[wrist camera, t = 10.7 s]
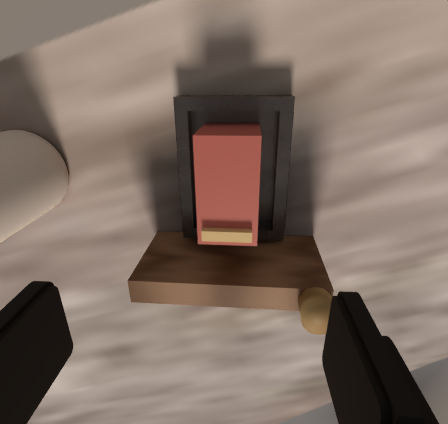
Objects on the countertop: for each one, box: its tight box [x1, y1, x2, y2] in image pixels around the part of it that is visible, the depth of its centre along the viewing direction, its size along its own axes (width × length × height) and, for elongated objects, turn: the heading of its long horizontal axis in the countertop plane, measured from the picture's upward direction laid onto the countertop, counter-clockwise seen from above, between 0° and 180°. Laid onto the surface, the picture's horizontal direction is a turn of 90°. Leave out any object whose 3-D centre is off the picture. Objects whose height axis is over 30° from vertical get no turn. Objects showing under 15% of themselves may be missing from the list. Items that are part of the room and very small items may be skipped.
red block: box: [193, 123, 262, 246], centre depth 23 cm, size 4×8×7 cm, turn 1°
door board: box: [128, 231, 334, 335], centre depth 25 cm, size 15×2×10 cm, turn 91°
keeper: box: [173, 95, 295, 241], centre depth 26 cm, size 9×12×2 cm
